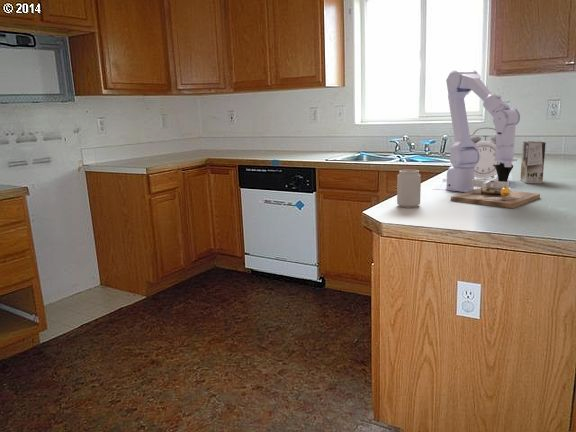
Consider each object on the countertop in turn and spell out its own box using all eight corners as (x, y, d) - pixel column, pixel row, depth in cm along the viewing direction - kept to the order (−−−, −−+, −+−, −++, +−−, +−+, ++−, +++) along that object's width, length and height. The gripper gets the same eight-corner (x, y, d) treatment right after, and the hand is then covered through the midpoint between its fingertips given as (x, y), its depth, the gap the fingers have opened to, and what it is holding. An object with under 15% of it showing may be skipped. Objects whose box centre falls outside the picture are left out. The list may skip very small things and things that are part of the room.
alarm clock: (461, 181, 206) (463, 128, 201) (465, 178, 213) (467, 127, 208) (503, 182, 198) (506, 127, 193) (505, 179, 205) (509, 126, 200)
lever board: (450, 200, 167) (451, 195, 166) (480, 191, 180) (480, 187, 180) (512, 208, 152) (512, 203, 151) (539, 198, 165) (540, 193, 165)
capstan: (463, 195, 166) (463, 182, 165) (477, 188, 177) (478, 177, 176) (508, 198, 157) (509, 186, 156) (520, 191, 168) (521, 179, 167)
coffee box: (543, 183, 192) (546, 142, 188) (525, 183, 193) (528, 142, 190) (536, 180, 201) (539, 140, 197) (519, 180, 202) (522, 141, 198)
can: (421, 204, 164) (421, 168, 161) (419, 208, 157) (420, 171, 154) (398, 203, 166) (398, 168, 164) (395, 208, 159) (396, 171, 157)
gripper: (522, 147, 156) (520, 189, 160) (513, 143, 170) (510, 181, 173) (499, 147, 158) (496, 189, 161) (491, 143, 172) (489, 181, 175)
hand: (502, 185), depth 167 cm, fingers closed, pressing on capstan
